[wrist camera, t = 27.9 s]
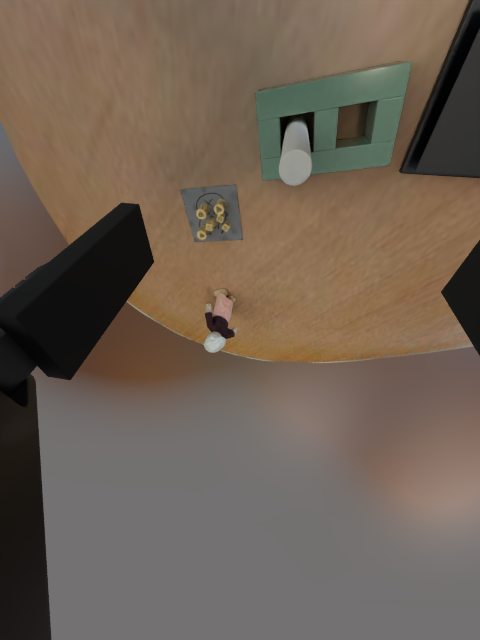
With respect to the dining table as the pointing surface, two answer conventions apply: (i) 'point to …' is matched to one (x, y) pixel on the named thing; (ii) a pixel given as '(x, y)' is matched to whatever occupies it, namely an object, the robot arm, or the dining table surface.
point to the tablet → (443, 89)
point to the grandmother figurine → (219, 321)
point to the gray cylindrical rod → (295, 153)
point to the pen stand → (335, 117)
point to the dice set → (213, 213)
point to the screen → (458, 125)
